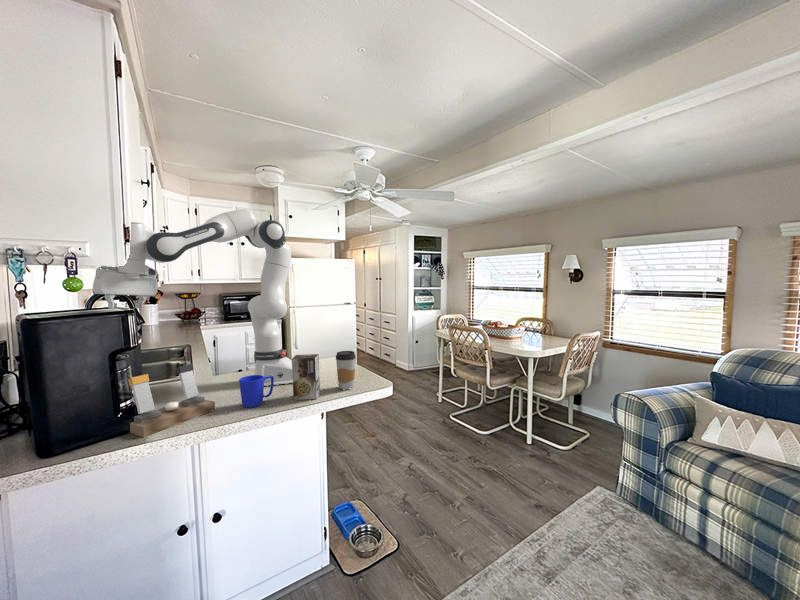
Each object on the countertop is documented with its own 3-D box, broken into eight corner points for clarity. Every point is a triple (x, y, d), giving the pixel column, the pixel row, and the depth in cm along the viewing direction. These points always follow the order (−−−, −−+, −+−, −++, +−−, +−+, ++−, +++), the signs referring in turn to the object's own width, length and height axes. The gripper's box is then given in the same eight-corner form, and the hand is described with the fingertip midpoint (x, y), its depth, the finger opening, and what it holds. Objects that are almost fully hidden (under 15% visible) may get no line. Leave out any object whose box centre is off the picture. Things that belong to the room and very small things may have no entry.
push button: (174, 405, 109) (173, 401, 109) (180, 407, 107) (180, 402, 107) (162, 409, 105) (162, 404, 105) (169, 411, 104) (169, 406, 104)
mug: (278, 401, 121) (277, 375, 121) (245, 411, 113) (244, 382, 112) (269, 396, 127) (268, 371, 126) (236, 405, 118) (235, 378, 118)
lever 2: (196, 395, 115) (188, 365, 116) (200, 394, 114) (192, 363, 115) (184, 399, 111) (175, 368, 112) (187, 398, 110) (179, 366, 111)
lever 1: (153, 409, 102) (144, 375, 104) (156, 408, 102) (147, 373, 103) (137, 414, 98) (127, 379, 100) (140, 413, 98) (131, 377, 99)
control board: (194, 405, 119) (194, 393, 119) (214, 409, 114) (214, 397, 114) (123, 430, 99) (122, 416, 99) (144, 437, 94) (143, 422, 94)
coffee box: (320, 393, 129) (319, 353, 129) (316, 399, 123) (315, 357, 122) (297, 394, 129) (296, 354, 128) (292, 400, 123) (291, 358, 122)
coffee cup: (358, 385, 140) (358, 350, 139) (352, 391, 131) (351, 355, 131) (340, 384, 141) (339, 350, 140) (333, 390, 133) (332, 354, 132)
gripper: (105, 265, 102) (102, 309, 102) (161, 272, 122) (159, 308, 122) (88, 264, 103) (85, 307, 103) (147, 271, 123) (145, 307, 123)
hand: (126, 308), depth 113 cm, fingers open, 8 cm apart
